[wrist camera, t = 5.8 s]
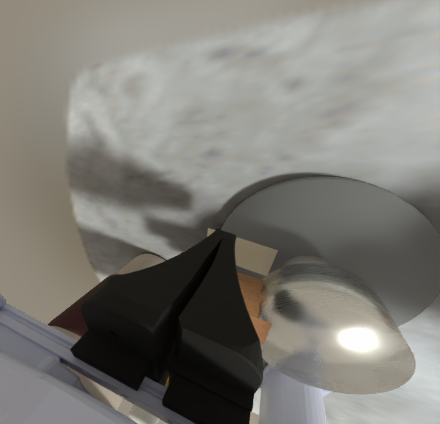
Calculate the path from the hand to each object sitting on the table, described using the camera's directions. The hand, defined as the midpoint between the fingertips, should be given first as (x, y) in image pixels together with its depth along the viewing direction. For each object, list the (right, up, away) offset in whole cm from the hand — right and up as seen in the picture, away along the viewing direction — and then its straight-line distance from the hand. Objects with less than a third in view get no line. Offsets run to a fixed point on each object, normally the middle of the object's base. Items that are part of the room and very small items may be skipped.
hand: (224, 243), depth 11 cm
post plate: (+8, -3, +4) cm, 9 cm away
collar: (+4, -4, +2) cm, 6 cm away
